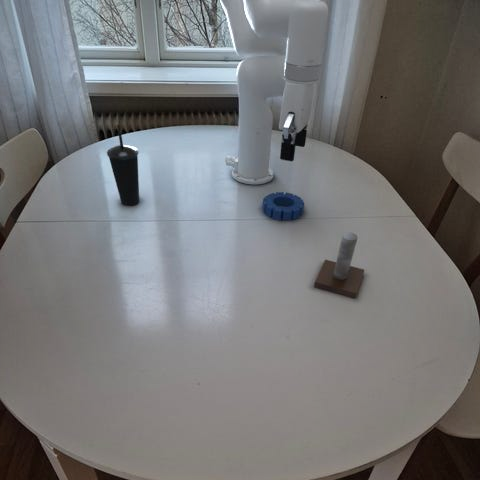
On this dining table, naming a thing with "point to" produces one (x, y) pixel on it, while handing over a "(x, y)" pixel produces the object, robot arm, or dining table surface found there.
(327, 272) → the peg on square base
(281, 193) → the ring
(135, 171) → the drinking cup
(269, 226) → the dining table surface
